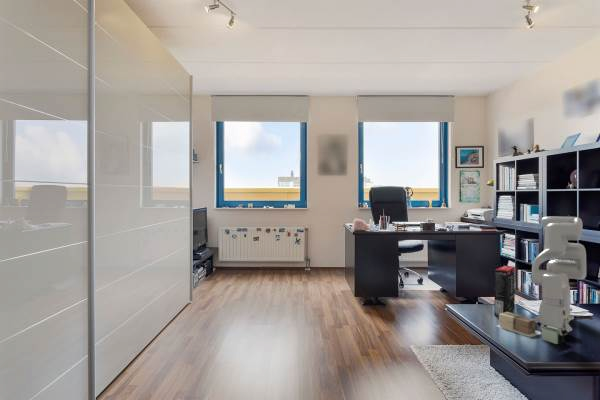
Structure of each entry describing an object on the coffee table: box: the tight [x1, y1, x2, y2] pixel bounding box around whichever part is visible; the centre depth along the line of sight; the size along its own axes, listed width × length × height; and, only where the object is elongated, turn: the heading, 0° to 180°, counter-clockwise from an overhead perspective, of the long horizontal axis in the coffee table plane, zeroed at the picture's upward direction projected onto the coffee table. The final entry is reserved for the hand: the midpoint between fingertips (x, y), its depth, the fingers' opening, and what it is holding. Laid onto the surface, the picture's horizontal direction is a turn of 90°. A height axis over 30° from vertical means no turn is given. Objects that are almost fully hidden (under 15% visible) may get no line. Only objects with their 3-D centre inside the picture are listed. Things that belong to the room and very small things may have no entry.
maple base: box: [498, 312, 522, 330], centre depth 177 cm, size 7×7×6 cm
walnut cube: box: [515, 315, 536, 334], centre depth 170 cm, size 6×6×6 cm
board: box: [496, 324, 541, 338], centre depth 173 cm, size 11×17×1 cm, turn 28°
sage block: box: [541, 325, 559, 345], centre depth 159 cm, size 6×6×6 cm
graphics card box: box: [493, 265, 516, 318], centre depth 198 cm, size 17×7×27 cm, turn 136°
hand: (552, 340), depth 159 cm, fingers closed on sage block, 6 cm apart
